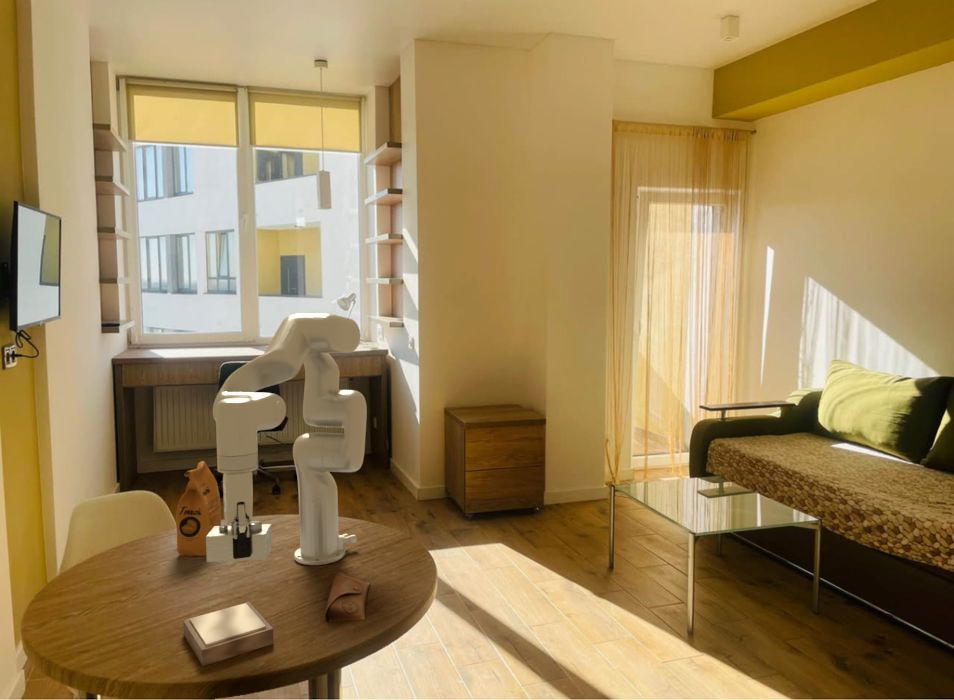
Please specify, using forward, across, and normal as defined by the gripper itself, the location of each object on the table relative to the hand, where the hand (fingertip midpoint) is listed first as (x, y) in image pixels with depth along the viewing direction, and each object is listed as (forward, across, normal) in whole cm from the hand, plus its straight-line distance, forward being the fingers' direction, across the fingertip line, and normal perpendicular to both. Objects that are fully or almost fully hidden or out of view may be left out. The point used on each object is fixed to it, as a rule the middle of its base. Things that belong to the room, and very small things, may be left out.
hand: (240, 549), depth 135 cm
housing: (+1, 0, 0) cm, 1 cm away
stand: (+17, +2, -3) cm, 17 cm away
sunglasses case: (+17, -5, +22) cm, 28 cm away
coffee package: (+16, -51, -7) cm, 54 cm away
